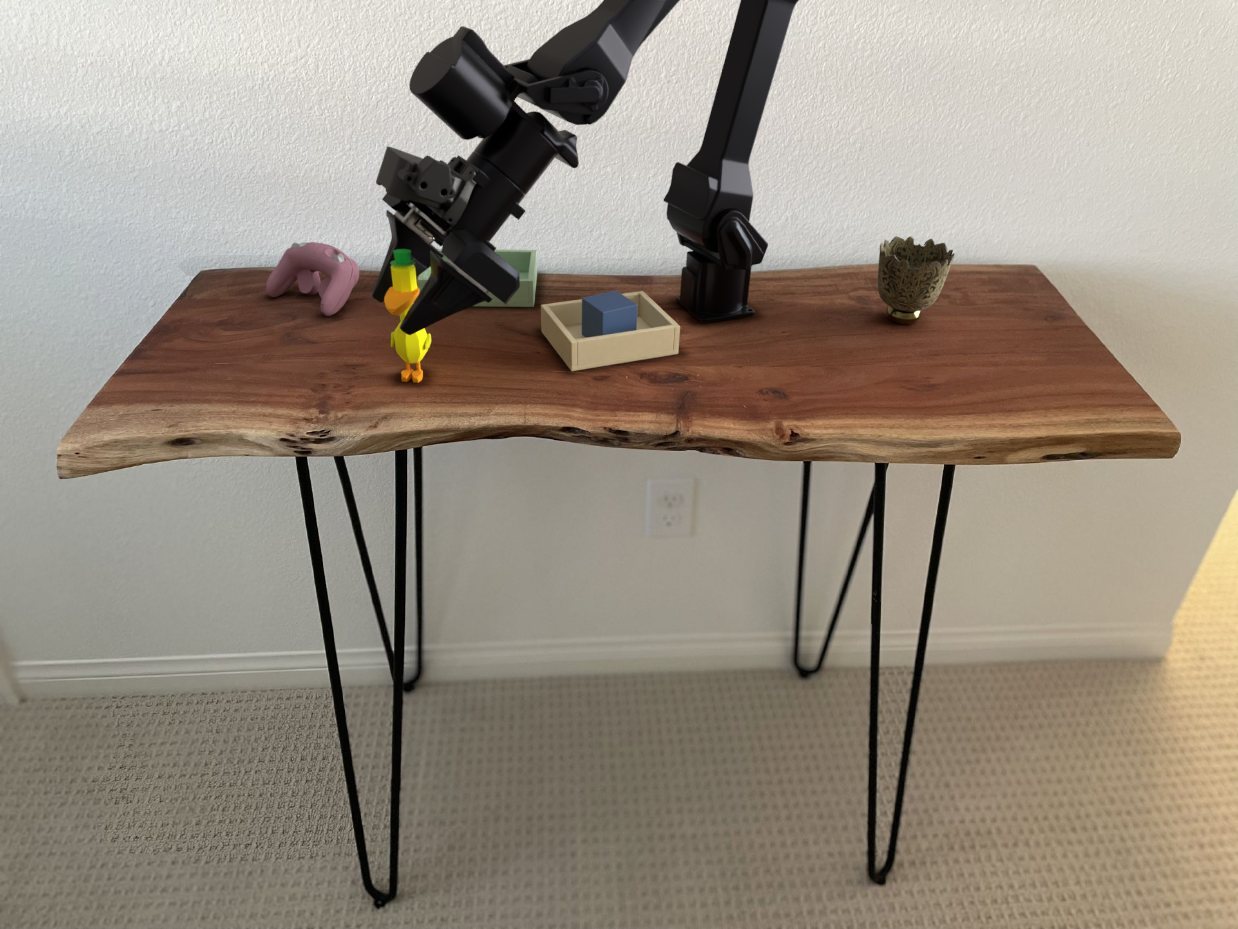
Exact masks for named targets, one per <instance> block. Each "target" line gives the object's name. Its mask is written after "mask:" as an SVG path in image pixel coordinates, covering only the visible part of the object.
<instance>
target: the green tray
mask: <svg viewBox="0 0 1238 929" xmlns="http://www.w3.org/2000/svg"><path fill="white" fill-rule="evenodd" d="M437 249H438V250H439V251H440V252H441V251H442V248H437ZM494 252H495V253H496V254H498V255H499V256H500V257H501V258H502V259H504V260H505V261H506V262H507V263H509V264H510V265H511V266H512V267H513V268H515V269H516V270H517V271H518V272H519V278H520V287H519V289H518V290H517V291H516V293H515V294H514V295H513V296H512V298H511V299H510V300H509V301H508V303H507V304H505V303H503V302H502V301H501V300H500V299H498V298H497V297H496V296H494V295H493V294H492V293H491V292H488V293H487V294H488V295H489V296H490V297H491V298H492V299H493V300H492V301H491V302H489V303H487V302H486V301H484V302H481V303H479V304H476V305H474V306H473V307H490V308H491V307H492V308H493V307H494V308H496V307H498V308H499V307H501V308H502V307H503V308H504V307H507V308H509V307H510V308H511V307H512V308H534V307H535V300H536V290H537V279H538V254H537V253H538V252H537V249H496V250H495V251H494ZM443 255H444V254H443ZM442 259H444V260H445V261H447V260H448V258H447V257H446V256H445V255H444V257H442ZM430 275H431V267H429V268H428V269H427V270H425V271H424V272H423V273H421V274H420V275H419V276H417V279H416V281H417V286H418V287H419V289H420V291H421V290H422V288H423V287H424V285H425V283H426V282H427V280H428V279H429V277H430ZM420 291H419V293H420Z"/></svg>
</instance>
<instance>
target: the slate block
mask: <svg viewBox="0 0 1238 929" xmlns="http://www.w3.org/2000/svg"><path fill="white" fill-rule="evenodd" d="M622 294H623V293H620V292H619V291H618V290H612V291H607V292H603V293H599V294H594V295H590V296H589V295H588V296H585V297H582V298H581V299H582V335H583V336H584V337H586V338H588V337H595V336H602V335H608V334H615V333H621V332H628V331H635V330H636V327H637V304H636V303H634V302H633V301H631V300H630V299H628V298H627V297H625V296H624V295H622Z"/></svg>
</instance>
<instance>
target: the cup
mask: <svg viewBox="0 0 1238 929" xmlns="http://www.w3.org/2000/svg"><path fill="white" fill-rule="evenodd" d="M953 251H954V250H953V249H949V250H948V247H947V245H946V243H945V242H940V243H935V241H934V240H933V239H932V238H929V239H928V240H926V241H925V242H924V244H923V245H921V244H920V243H918V244H915V238H914V237H912V236H908V237H907V238H906V239H904V238H903V237H900V236H897V235H895V236H894V237H893V238H892V239H891V240H890V241H889V240H887V239H884V241H883V243H882V242H880V244H879V254H878V255H879V256H878V268H877V289H878V295H879V296H880V298H881V300H882V302H883V303H885V305H886V306H887V307H886V308H885V315H886V317H887V318H888V319H889V320H890V321H891V322H894V323H896V324H899V325H900V324H901V325H912V324H915V323H917V322H918V321H919V320H920V318H921V317H922V311H924V310H926V309H929V307H931V306H932V305H934V303H935V302H936V301H937V300H938V298H939V296H940V294H941V292H942V290H943V288H944V285H945V282H946V280H947V277H948V274H949V272H950V268H951V267H952V266H951V265H952V263H953V261H954V258H955V253H953Z"/></svg>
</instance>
